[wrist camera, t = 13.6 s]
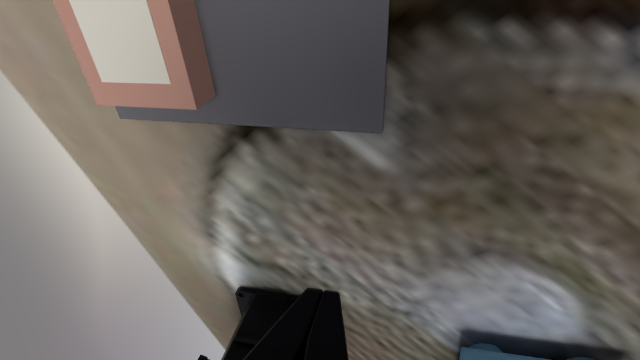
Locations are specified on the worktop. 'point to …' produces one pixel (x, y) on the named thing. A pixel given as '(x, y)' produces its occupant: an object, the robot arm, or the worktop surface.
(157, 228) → the worktop surface
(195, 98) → the card box
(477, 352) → the teapot
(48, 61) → the worktop surface
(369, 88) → the mat
